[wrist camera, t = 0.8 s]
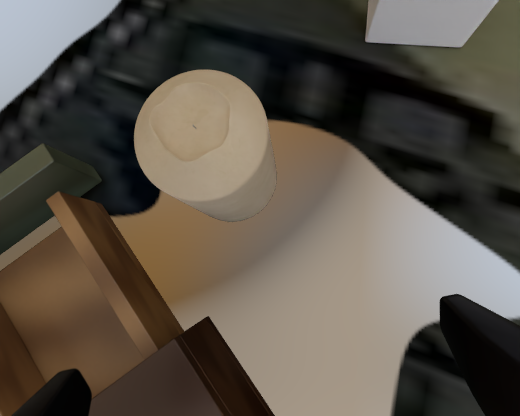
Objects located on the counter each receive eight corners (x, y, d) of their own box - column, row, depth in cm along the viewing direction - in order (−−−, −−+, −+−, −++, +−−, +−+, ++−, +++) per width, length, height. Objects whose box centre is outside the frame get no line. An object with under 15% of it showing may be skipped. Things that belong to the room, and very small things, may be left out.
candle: (268, 229, 23) (250, 206, 13) (182, 214, 23) (102, 181, 14) (284, 143, 24) (277, 58, 14) (199, 130, 24) (134, 41, 14)
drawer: (-45, 243, 24) (-130, 239, 19) (83, 151, 24) (30, 124, 19) (63, 438, 21) (-2, 489, 17) (204, 335, 21) (179, 357, 17)
